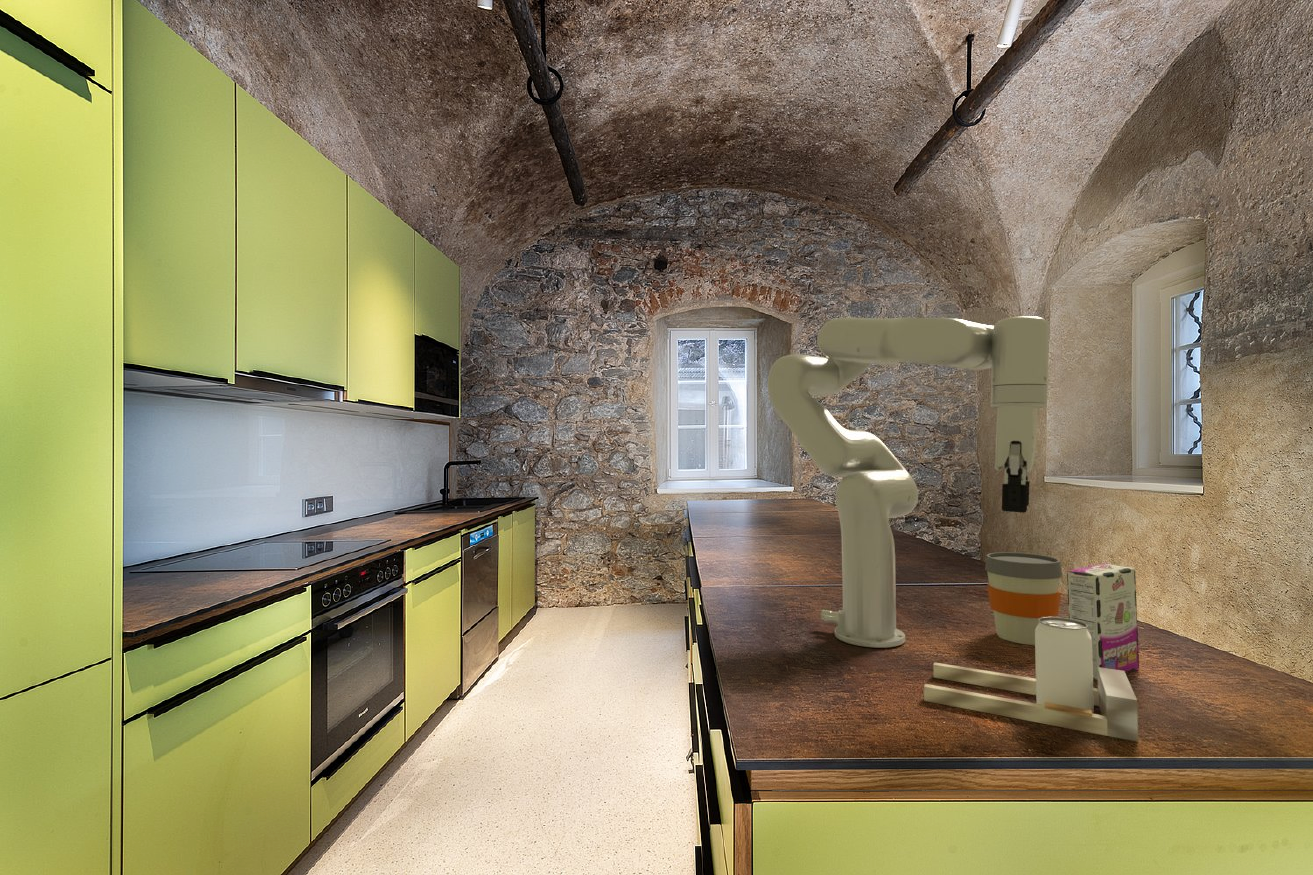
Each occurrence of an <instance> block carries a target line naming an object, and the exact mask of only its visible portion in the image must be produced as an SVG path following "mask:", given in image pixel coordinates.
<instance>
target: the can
mask: <svg viewBox="0 0 1313 875" xmlns="http://www.w3.org/2000/svg"><path fill="white" fill-rule="evenodd" d="M1038 621H1039V624H1038V626H1037V628H1036V630H1035V645H1034V647H1035V648H1034V652H1035V655H1034V656H1035V657H1034V658H1035V679H1036V695H1035V697H1036V698H1035V699H1036V704H1042V705H1045V702H1048V703H1053V704H1059V705H1065V706H1070V707H1076V708H1082V709H1087V710H1091V711H1092V714H1095V713H1094V708H1095V707H1094V706H1095V705H1094V704H1093V688H1094V679H1093V661H1092V638H1091V635H1090V634H1089V632H1088V630H1087V627H1088V625H1087V624H1085V623H1083V622H1081V621H1077V620H1073V619H1069V617H1068V618H1066V617H1061V616H1060V617H1059V616H1056V617H1042V618H1039V619H1038Z"/></svg>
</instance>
